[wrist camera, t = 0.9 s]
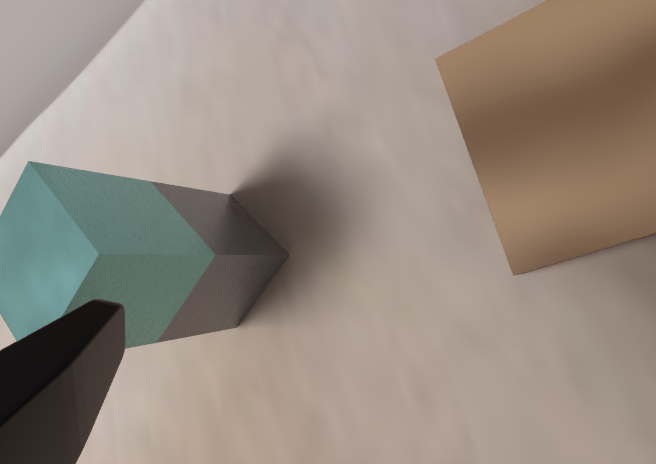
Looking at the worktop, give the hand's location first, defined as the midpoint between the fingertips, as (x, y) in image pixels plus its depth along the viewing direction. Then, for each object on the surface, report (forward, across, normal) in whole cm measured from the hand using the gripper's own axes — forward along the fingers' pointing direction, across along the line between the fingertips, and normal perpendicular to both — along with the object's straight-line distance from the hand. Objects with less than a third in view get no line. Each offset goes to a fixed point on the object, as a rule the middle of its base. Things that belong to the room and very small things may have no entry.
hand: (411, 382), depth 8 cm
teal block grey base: (+16, +6, +11) cm, 21 cm away
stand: (+14, -8, -1) cm, 16 cm away
